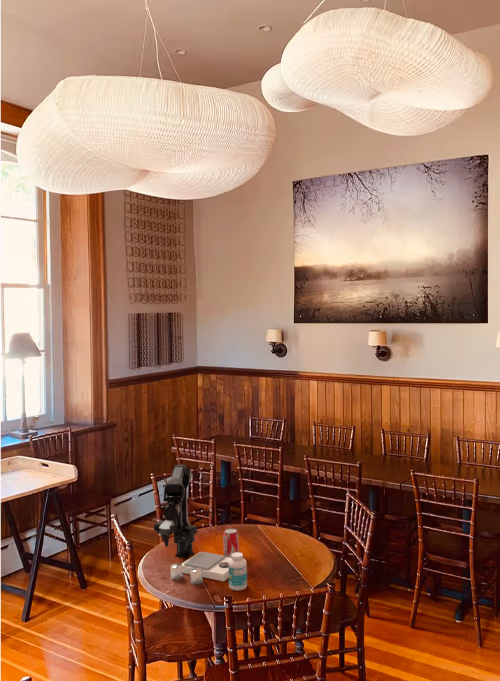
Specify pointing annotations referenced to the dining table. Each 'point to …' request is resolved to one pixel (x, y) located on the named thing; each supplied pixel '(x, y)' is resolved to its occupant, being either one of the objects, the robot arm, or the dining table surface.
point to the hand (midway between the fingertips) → (175, 548)
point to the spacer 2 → (196, 576)
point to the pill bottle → (237, 572)
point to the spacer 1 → (176, 571)
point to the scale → (208, 565)
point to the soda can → (230, 542)
